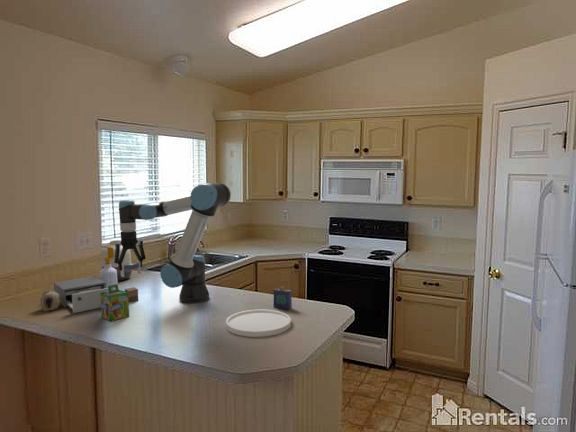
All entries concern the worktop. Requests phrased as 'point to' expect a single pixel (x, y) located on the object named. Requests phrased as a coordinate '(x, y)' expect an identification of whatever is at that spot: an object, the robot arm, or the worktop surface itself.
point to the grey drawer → (85, 298)
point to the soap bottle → (109, 270)
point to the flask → (282, 298)
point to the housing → (76, 287)
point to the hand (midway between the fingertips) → (131, 275)
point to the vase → (126, 258)
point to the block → (132, 294)
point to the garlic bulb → (50, 300)
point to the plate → (258, 323)
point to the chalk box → (114, 304)
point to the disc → (131, 266)
